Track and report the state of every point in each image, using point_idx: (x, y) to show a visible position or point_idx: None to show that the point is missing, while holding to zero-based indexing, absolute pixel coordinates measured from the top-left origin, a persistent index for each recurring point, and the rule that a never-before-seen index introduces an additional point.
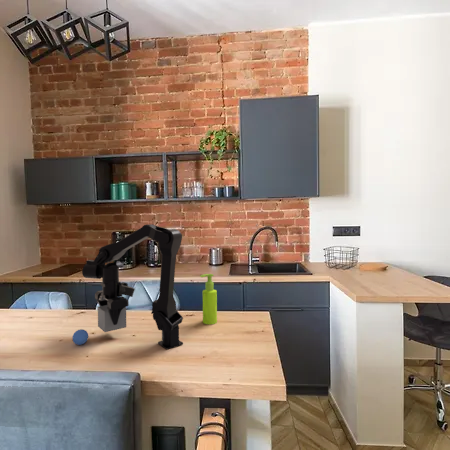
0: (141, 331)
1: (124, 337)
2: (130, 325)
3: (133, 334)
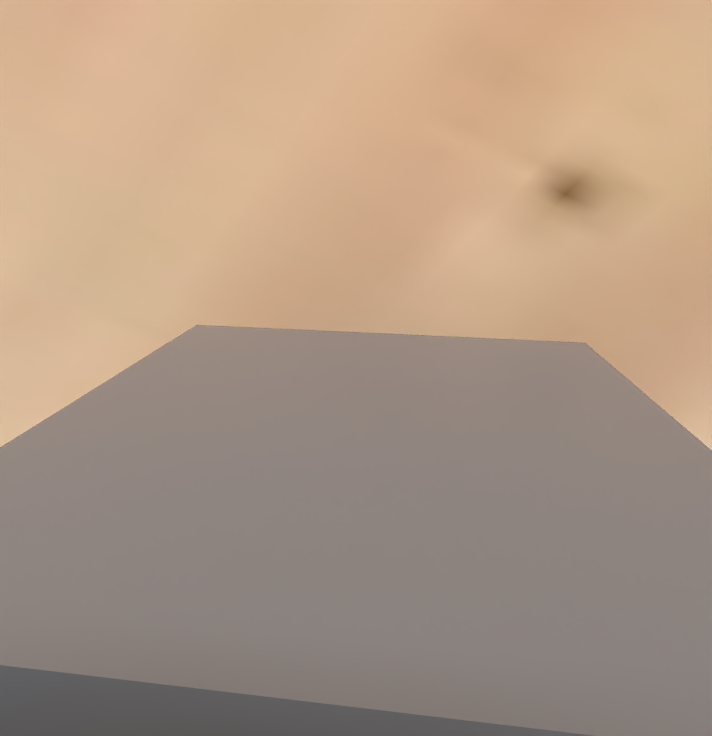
0: (518, 5)
1: (536, 330)
2: (127, 47)
3: (535, 183)
